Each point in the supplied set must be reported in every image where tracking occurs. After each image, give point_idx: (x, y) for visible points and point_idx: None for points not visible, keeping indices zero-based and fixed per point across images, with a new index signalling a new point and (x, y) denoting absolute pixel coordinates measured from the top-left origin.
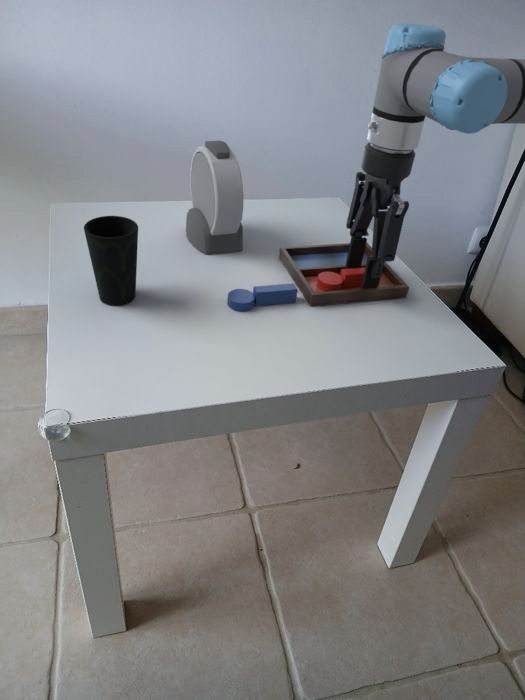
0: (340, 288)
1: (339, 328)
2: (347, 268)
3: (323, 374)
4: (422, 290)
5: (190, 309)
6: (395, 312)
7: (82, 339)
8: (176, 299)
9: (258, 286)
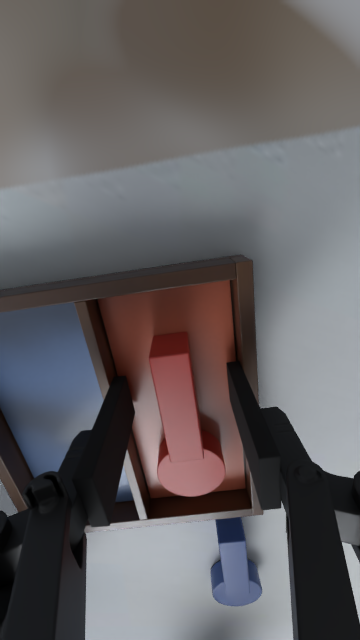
0: (214, 440)
1: (342, 452)
2: (132, 422)
3: None
4: (197, 168)
5: (241, 615)
6: (310, 315)
7: None
8: (212, 625)
9: (227, 590)
